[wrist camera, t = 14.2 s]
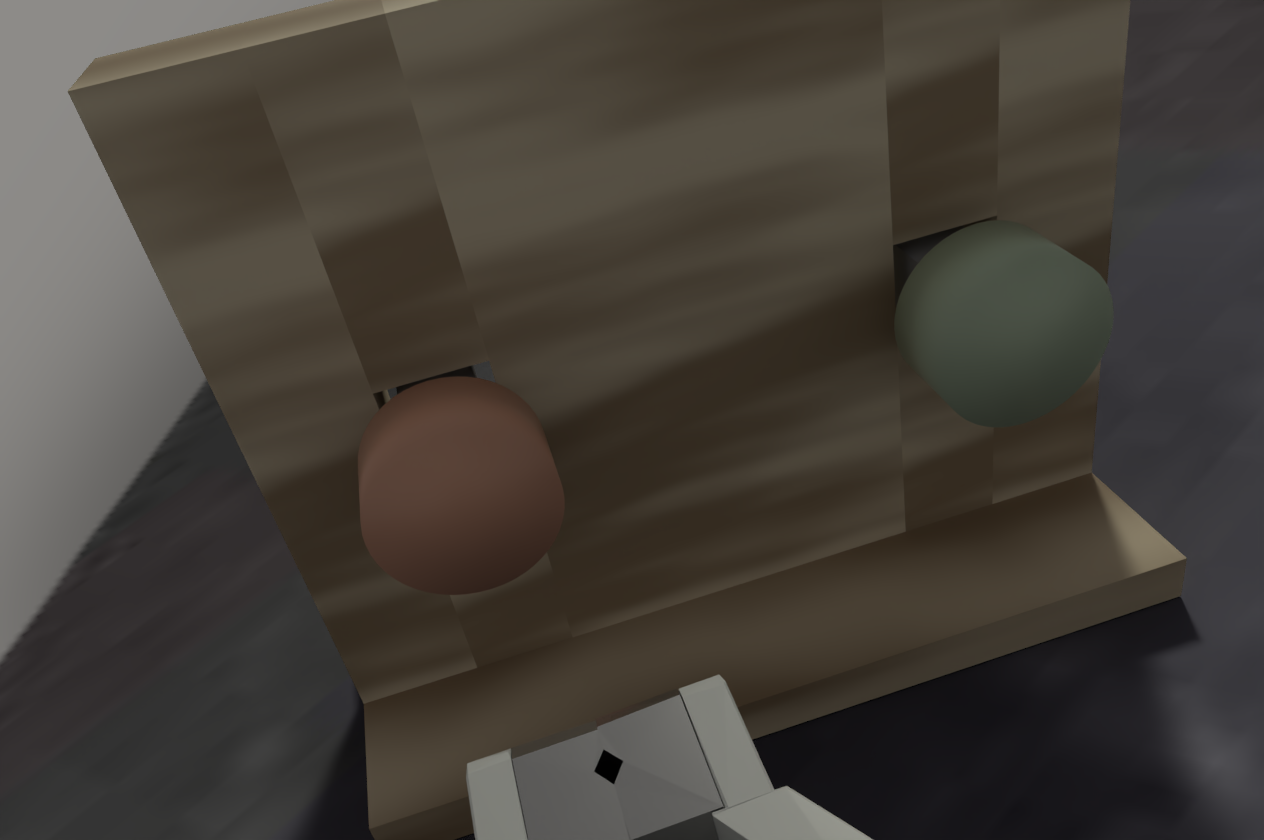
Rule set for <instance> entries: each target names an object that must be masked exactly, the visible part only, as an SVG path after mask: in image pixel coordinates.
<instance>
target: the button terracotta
mask: <svg viewBox="0 0 1264 840" xmlns="http://www.w3.org/2000/svg"><path fill="white" fill-rule="evenodd" d="M396 388H397V395H396V396H395V397H393V398H392V399H391V400H389V401H388V402H387V403H386V404H385V405H383V406H382V407H381V409H380V410H379V411H378V412H377V413H376V414H375V415H374V417H373V418H372V420H371V421H370V422H369V424H368V426H367V428H366V430H365V432H364V434H363V436H362V439H361V442H360V446H359V452H358V481H359V502H360V523H361V531H362V536H363V539H364V542H365V545H366V547H367V549H368V551H369V553H370V555H371V556H372V558H373V559H374V560H375V562H376V563H377V564H378V565H379V566H380V567H381V568H382V569H383V570H384V571H385V572H386V573H387V574H389V575H390V576H391V577H393V578H394V579H396V580H397V581H399V582H401V583H403V584H405V585H407V586H409V587H412V588H414V589H417V590H421V591H424V592H428V593H435V594H442V595H464V594H472V593H478V592H482V591H486V590H490V589H493V588H496V587H498V586H501V585H504V584H506V583H508V582H510V581H512V580H514V579H516V578H517V577H519V576H520V575H522V574H524V573H525V572H526V571H528V570H529V569H530V568H532V567H533V566H534V565H535V564H536V563H537V562H538V561H539V560H540V559H541V558H542V557H543V556H544V555H545V554H546V552H547V551H548V550H549V549H550V547H551V546H552V544H553V542H554V541H555V539H556V537H557V535H558V533H559V531H560V528H561V525H562V521H563V517H564V509H565V498H564V492H563V487H562V484H561V481H560V478H559V475H558V472H557V469H556V466H555V463H554V460H553V457H552V454H551V451H550V448H549V445H548V442H547V439H546V436H545V433H544V430H543V428H542V425H541V422H540V421H539V419H538V417H537V415H536V413H535V412H534V411H533V410H532V408H531V407H530V406H529V405H528V404H527V403H526V402H525V401H524V400H523V399H522V398H521V397H520V396H518V395H517V394H516V393H514V392H513V391H511V390H509V389H508V388H506V387H504V386H502V385H499V384H497V383H494V382H491V381H488V380H484V379H480V378H477V376H476V372H475V369H474V366H473V365H471V366H468V367H464V368H461V369H457V370H454V371H450V372H447V373H443V374H440V375H436V376H433V377H429V378H426V379H422V380H419V381H415V382H412V383H408V384H405V385H401V386H398V387H396Z"/></svg>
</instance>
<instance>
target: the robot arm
mask: <svg viewBox="0 0 1264 840" xmlns="http://www.w3.org/2000/svg"><path fill="white" fill-rule="evenodd" d="M466 782H467V788H468V795H469V801H470V808H471V815H472V821H473V828H474V834H475V840H873V839H871V838H870V837H868V836H867V835H865V834H863V833H862V832H860V831H859V830H857V829H855V828H854V827H852V826H851V825H849V824H847V823H846V822H844V821H843V820H841V819H839V818H838V817H836V816H835V815H833V814H831V813H830V812H828V811H827V810H825V809H823V808H822V807H820V806H819V805H817V804H815V803H814V802H812V801H811V800H809V799H807V798H806V797H804V796H803V795H801V794H799V793H798V792H796V791H795V790H793V789H791V788H790V787H788V786H785V787H781V788H778V789H775V790H774V788H773V786H772V783H771V781H770V779H769V777H768V775H767V772H766V770H765V768H764V766H763V763H762V761H761V759H760V757H759V755H758V752H757V750H756V748H755V746H754V744H753V741H752V739H751V737H750V735H749V732H748V730H747V728H746V726H745V724H744V721H743V719H742V717H741V715H740V712H739V710H738V708H737V706H736V704H735V701H734V699H733V697H732V695H731V692H730V690H729V688H728V686H727V684H726V681H725V680H724V679H723V678H722V677H721V676H720V675H716V676H713V677H710V678H708V679H705V680H702V681H699V682H696V683H694V684H691V685H688V686H685V687H682V688H679V690H678V691H677V689H674V690H671V691H669V692H666V693H663V694H661V695H658V696H655V697H653V698H650V699H647V700H645V701H642V702H639V703H636V704H634V705H631V706H628V707H626V708H623V709H620V710H618V711H615V712H612V713H610V714H607V715H604V716H601V717H599V718H596V719H595V721H592V722H589V723H586V724H583V725H580V726H577V727H574V728H571V729H568V730H565V731H562V732H559V733H556V734H553V735H550V736H547V737H543V738H540V739H537V740H534V741H531V742H528V743H525V744H522V745H519V746H516V747H513V748H511V749H508V750H505V751H502V752H499V753H496V754H493V755H490V756H487V757H484V758H481V759H478V760H476V761H473V762H470V763H467V771H466Z"/></svg>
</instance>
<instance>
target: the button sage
mask: <svg viewBox="0 0 1264 840" xmlns="http://www.w3.org/2000/svg"><path fill="white" fill-rule="evenodd" d="M893 260H894V282H895V304H896V312H895V318H894V331H895V339H896V343H897V346H898V349H899V351H900V353H901V355H902V357H903V358H904V360H905V361H906V363H907V364H908V365H909V366H910V367H911V368H912V369H913V370H914V371H915V372H916V373H917V374H918V375H919V376H920V377H921V378H922V379H923V380H924V381H925V382H926V383H927V384H928V385H929V386H930V387H931V388H932V389H933V390H934V391H935V392H936V393H937V394H938V395H939V396H940V397H941V398H942V399H943V400H944V401H945V402H946V403H947V404H948V405H949V406H950V407H951V408H952V409H953V410H954V411H955V412H956V413H957V414H958V415H960V416H961V417H962V418H964V419H965V420H967V421H969V422H972V423H974V424H977V425H981V426H985V427H1009V426H1015V425H1019V424H1023V423H1026V422H1029V421H1032V420H1035V419H1037V418H1039V417H1041V416H1043V415H1045V414H1047V413H1049V412H1050V411H1052V410H1054V409H1055V408H1057V407H1058V406H1059V405H1061V404H1062V403H1064V402H1065V401H1066V400H1067V399H1069V398H1070V397H1071V396H1072V395H1073V394H1074V393H1075V392H1076V391H1077V390H1078V389H1079V388H1080V387H1081V386H1082V385H1083V384H1084V383H1085V382H1086V380H1087V379H1088V378H1089V377H1090V375H1091V374H1092V373H1093V371H1094V370H1095V368H1096V366H1097V365H1098V363H1099V362H1100V360H1101V358H1102V356H1103V354H1104V352H1105V349H1106V347H1107V344H1108V342H1109V338H1110V335H1111V331H1112V325H1113V302H1112V297H1111V294H1110V290H1109V288H1108V286H1107V284H1106V282H1105V280H1104V279H1103V278H1102V276H1101V275H1100V274H1099V273H1098V272H1097V271H1096V270H1095V269H1094V268H1092V267H1091V266H1089V265H1088V264H1086V263H1085V262H1083V261H1081V260H1080V259H1078V258H1077V257H1075V256H1073V255H1072V254H1070V253H1069V252H1067V251H1066V250H1064V249H1062V248H1061V247H1059V246H1058V245H1056V244H1054V243H1053V242H1051V241H1050V240H1048V239H1047V238H1045V237H1043V236H1042V235H1040V234H1039V233H1037V232H1035V231H1034V230H1032V229H1031V228H1029V227H1027V226H1025V225H1022V224H1020V223H1017V222H1012V221H1004V220H994V221H986V222H981V223H976V224H974V225H971V226H968V227H964V226H958V227H955V228H951V229H948V230H944V231H941V232H937V233H934V234H930V235H927V236H923V237H920V238H916V239H913V240H909V241H906V242H902V243H899V244H895V245H893Z"/></svg>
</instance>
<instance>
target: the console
mask: <svg viewBox="0 0 1264 840" xmlns="http://www.w3.org/2000/svg"><path fill="white" fill-rule="evenodd" d="M1129 10H1130V0H334V1H330V2H326V3H322V4H318V5H314V6H310V7H305V8H301V9H297V10H293V11H289V12H285V13H281V14H277V15H273V16H269V17H265V18H260V19H256V20H252V21H248V22H244V23H240V24H235V25H232V26H228V27H223V28H219V29H215V30H211V31H207V32H203V33H198V34H194V35H191V36H186V37H182V38H178V39H174V40H170V41H166V42H162V43H157V44H153V45H149V46H145V47H141V48H137V49H133V50H129V51H125V52H120V53H116V54H112V55H108V56H104V57H100V58H96V59H94V61H93V62H92V63H91V64H90V65H89V67H88V68H87V69H86V70H85V71H84V72H83V74H82V75H81V76H80V77H79V78H78V80H77V81H76V82H75V83H74V84H73V86H72V87H71V88H70V89H69V90H68V93H69V95H70V97H71V99H72V101H73V103H74V105H75V107H76V109H77V112H78V114H79V116H80V118H81V120H82V122H83V124H84V126H85V128H86V130H87V132H88V134H89V136H90V138H91V140H92V143H93V145H94V147H95V149H96V151H97V153H98V155H99V157H100V159H101V161H102V163H103V165H104V167H105V170H106V172H107V173H108V176H109V177H110V180H111V182H112V184H113V186H114V188H115V190H116V192H117V194H118V196H119V199H120V200H121V203H122V205H123V207H124V209H125V211H126V213H127V215H128V217H129V219H130V221H131V223H132V225H133V227H134V230H135V231H136V234H137V236H138V237H139V240H140V242H141V244H142V246H143V248H144V250H145V252H146V254H147V256H148V258H149V260H150V263H151V265H152V267H153V269H154V271H155V273H156V275H157V277H158V279H159V281H160V283H161V285H162V287H163V290H164V291H165V294H166V296H167V298H168V300H169V302H170V304H171V306H172V308H173V310H174V312H175V314H176V316H177V318H178V320H179V323H180V325H181V327H182V329H183V331H184V333H185V335H186V337H187V339H188V341H189V343H190V345H191V347H192V350H193V351H194V354H195V356H196V358H197V360H198V362H199V364H200V366H201V368H202V370H203V372H204V374H205V376H206V378H207V381H208V383H209V385H210V387H211V389H212V391H213V393H214V395H215V397H216V399H217V401H218V403H219V405H220V407H221V409H222V412H223V414H224V416H225V418H226V420H227V422H228V424H229V426H230V428H231V430H232V432H233V434H234V436H235V438H236V440H237V443H238V445H239V447H240V449H241V451H242V453H243V455H244V457H245V459H246V461H247V463H248V465H249V467H250V469H251V472H252V474H253V476H254V478H255V480H256V482H257V484H258V486H259V488H260V490H261V492H262V494H263V496H264V498H265V500H266V503H267V505H268V507H269V509H270V511H271V513H272V515H273V517H274V519H275V521H276V523H277V525H278V527H279V529H280V531H281V534H282V536H283V538H284V540H285V542H286V544H287V546H288V548H289V550H290V552H291V554H292V556H293V558H294V560H295V563H296V565H297V567H298V569H299V571H300V573H301V575H302V577H303V579H304V581H305V583H306V585H307V587H308V589H309V591H310V594H311V596H312V598H313V600H314V602H315V604H316V606H317V608H318V610H319V612H320V614H321V616H322V618H323V620H324V622H325V625H326V627H327V629H328V631H329V633H330V635H331V637H332V639H333V641H334V643H335V645H336V647H337V649H338V651H339V653H340V656H341V658H342V660H343V662H344V664H345V666H346V668H347V670H348V672H349V674H350V676H351V678H352V680H353V682H354V685H355V687H356V689H357V691H358V693H359V695H360V697H361V699H362V701H363V703H364V719H365V744H366V768H367V792H368V816H369V830H370V832H371V834H372V836H373V838H374V839H375V840H455V839H458V838H461V837H464V836H466V835H469V834H472V833H474V828H473V821H472V815H471V808H470V801H469V795H468V788H467V782H466V771H467V763H470V762H473V761H476V760H478V759H481V758H484V757H487V756H490V755H493V754H496V753H499V752H502V751H505V750H508V749H511V748H513V747H516V746H519V745H522V744H525V743H528V742H531V741H534V740H537V739H540V738H543V737H547V736H550V735H553V734H556V733H559V732H562V731H565V730H568V729H571V728H574V727H577V726H580V725H583V724H586V723H589V722H592V721H595V719H596V718H599V717H601V716H604V715H607V714H610V713H612V712H615V711H618V710H620V709H623V708H626V707H628V706H631V705H634V704H636V703H639V702H642V701H645V700H647V699H650V698H653V697H655V696H658V695H661V694H663V693H666V692H669V691H671V690H674V689H677V691H678V690H679V688H682V687H685V686H688V685H691V684H694V683H696V682H699V681H702V680H705V679H708V678H710V677H713V676H716V675H720V676H721V677H722V678H723V679H724V680H725V681H726V684H727V686H728V688H729V690H730V692H731V695H732V697H733V699H734V701H735V704H736V706H737V708H738V710H739V712H740V715H741V717H742V719H743V721H744V724H745V726H746V728H747V730H748V732H749V735H750V737H751V739H752V740H753V739H756V738H759V737H762V736H765V735H768V734H771V733H774V732H777V731H780V730H783V729H786V728H789V727H792V726H794V725H797V724H800V723H803V722H806V721H809V720H812V719H815V718H818V717H821V716H824V715H827V714H830V713H833V712H836V711H839V710H842V709H845V708H848V707H851V706H854V705H857V704H860V703H863V702H866V701H869V700H872V699H875V698H878V697H881V696H884V695H887V694H890V693H893V692H896V691H899V690H902V689H905V688H908V687H911V686H914V685H917V684H920V683H923V682H926V681H929V680H932V679H935V678H938V677H941V676H944V675H947V674H950V673H953V672H956V671H958V670H961V669H964V668H967V667H970V666H973V665H976V664H979V663H982V662H985V661H988V660H991V659H994V658H997V657H1000V656H1003V655H1006V654H1009V653H1012V652H1015V651H1018V650H1021V649H1024V648H1027V647H1030V646H1033V645H1036V644H1039V643H1042V642H1045V641H1048V640H1051V639H1054V638H1057V637H1060V636H1063V635H1066V634H1069V633H1072V632H1075V631H1078V630H1081V629H1084V628H1087V627H1090V626H1093V625H1096V624H1099V623H1102V622H1105V621H1108V620H1111V619H1114V618H1117V617H1120V616H1123V615H1125V614H1128V613H1131V612H1134V611H1137V610H1140V609H1143V608H1146V607H1149V606H1152V605H1155V604H1158V603H1161V602H1164V601H1167V600H1170V599H1173V598H1176V597H1179V596H1181V592H1182V586H1183V579H1184V573H1185V566H1186V560H1187V558H1186V557H1185V556H1184V555H1183V554H1181V553H1180V552H1179V551H1178V550H1177V549H1176V548H1175V547H1174V546H1173V545H1171V544H1170V543H1169V542H1168V541H1167V540H1166V539H1165V538H1164V537H1163V536H1161V535H1160V534H1159V533H1158V532H1157V531H1156V530H1155V529H1154V528H1153V527H1151V526H1150V525H1149V524H1148V523H1147V522H1146V521H1145V520H1144V519H1143V518H1141V517H1140V516H1139V515H1138V514H1137V513H1136V512H1135V511H1134V510H1133V509H1131V508H1130V507H1129V506H1128V505H1127V504H1126V503H1125V502H1124V501H1123V500H1121V499H1120V498H1119V497H1118V496H1117V495H1116V494H1115V493H1114V492H1113V491H1111V490H1110V489H1109V488H1108V487H1107V486H1106V485H1105V484H1104V483H1103V482H1101V481H1100V480H1099V479H1098V478H1097V477H1096V476H1095V475H1094V474H1093V473H1092V461H1093V448H1094V436H1095V424H1096V412H1097V400H1098V388H1099V375H1100V363H1101V360H1100V362H1099V363H1098V365H1097V366H1096V368H1095V370H1094V371H1093V373H1092V374H1091V375H1090V377H1089V378H1088V379H1087V380H1086V382H1085V383H1084V384H1083V385H1082V386H1081V387H1080V388H1079V389H1078V390H1077V391H1076V392H1075V393H1074V394H1073V395H1072V396H1071V397H1070V398H1069V399H1067V400H1066V401H1065V402H1064V403H1062V404H1061V405H1059V406H1058V407H1057V408H1055V409H1054V410H1052V411H1050V412H1049V413H1047V414H1045V415H1043V416H1041V417H1039V418H1037V419H1035V420H1032V421H1029V422H1026V423H1023V424H1019V425H1015V426H1009V427H985V426H981V425H977V424H974V423H972V422H969V421H967V420H965V419H964V418H962V417H961V416H960V415H958V414H957V413H956V412H955V411H954V410H953V409H952V408H951V407H950V406H949V405H948V404H947V403H946V402H945V401H944V400H943V399H942V398H941V397H940V396H939V395H938V394H937V393H936V392H935V391H934V390H933V389H932V388H931V387H930V386H929V385H928V384H927V383H926V382H925V381H924V380H923V379H922V378H921V377H920V376H919V375H918V374H917V373H916V372H915V371H914V370H913V369H912V368H911V367H910V366H909V365H908V364H907V363H906V361H905V360H904V358H903V357H902V355H901V353H900V351H899V349H898V346H897V343H896V339H895V331H894V318H895V312H896V304H895V282H894V260H893V245H895V244H899V243H902V242H906V241H909V240H913V239H916V238H920V237H923V236H927V235H930V234H934V233H937V232H941V231H944V230H948V229H951V228H955V227H958V226H964V227H968V226H971V225H974V224H976V223H981V222H986V221H994V220H1004V221H1012V222H1017V223H1020V224H1022V225H1025V226H1027V227H1029V228H1031V229H1032V230H1034V231H1035V232H1037V233H1039V234H1040V235H1042V236H1043V237H1045V238H1047V239H1048V240H1050V241H1051V242H1053V243H1054V244H1056V245H1058V246H1059V247H1061V248H1062V249H1064V250H1066V251H1067V252H1069V253H1070V254H1072V255H1073V256H1075V257H1077V258H1078V259H1080V260H1081V261H1083V262H1085V263H1086V264H1088V265H1089V266H1091V267H1092V268H1094V269H1095V270H1096V271H1097V272H1098V273H1099V274H1100V275H1101V276H1102V278H1103V279H1104V280H1105V282H1106V284H1107V278H1108V266H1109V253H1110V241H1111V229H1112V217H1113V205H1114V193H1115V180H1116V168H1117V156H1118V144H1119V132H1120V119H1121V107H1122V95H1123V83H1124V71H1125V58H1126V46H1127V34H1128V22H1129ZM485 361H490V365H491V368H492V371H493V375H494V378H495V381H496V383H497V384H499V385H502V386H504V387H506V388H508V389H509V390H511V391H513V392H514V393H516V394H517V395H518V396H520V397H521V398H522V399H523V400H524V401H525V402H526V403H527V404H528V405H529V406H530V407H531V408H532V410H533V411H534V412H535V413H536V415H537V417H538V419H539V421H540V422H541V425H542V428H543V430H544V433H545V436H546V439H547V442H548V445H549V448H550V451H551V454H552V457H553V460H554V463H555V466H556V469H557V472H558V475H559V478H560V481H561V484H562V487H563V492H564V498H565V509H564V517H563V521H562V525H561V528H560V531H559V533H558V535H557V537H556V539H555V541H554V542H553V544H552V546H551V547H550V549H549V550H548V551H547V552H546V554H545V555H544V556H543V557H542V558H541V559H540V560H539V561H538V562H537V563H536V564H535V565H534V566H533V567H532V568H530V569H529V570H528V571H526V572H525V573H524V574H522V575H520V576H519V577H517V578H516V579H514V580H512V581H510V582H508V583H506V584H504V585H501V586H498V587H496V588H493V589H490V590H486V591H482V592H478V593H472V594H464V595H442V594H435V593H428V592H424V591H421V590H417V589H414V588H412V587H409V586H407V585H405V584H403V583H401V582H399V581H397V580H396V579H394V578H393V577H391V576H390V575H389V574H387V573H386V572H385V571H384V570H383V569H382V568H381V567H380V566H379V565H378V564H377V563H376V562H375V560H374V559H373V558H372V556H371V555H370V553H369V551H368V549H367V547H366V545H365V542H364V539H363V536H362V531H361V523H360V502H359V481H358V452H359V446H360V442H361V439H362V436H363V434H364V432H365V430H366V428H367V426H368V424H369V422H370V421H371V420H372V418H373V417H374V415H375V414H376V413H377V412H378V411H379V410H380V409H381V407H382V406H383V405H385V404H386V403H387V402H388V401H389V400H391V399H390V396H389V394H388V391H387V389H391V388H394V387H398V386H401V385H405V384H408V383H412V382H415V381H419V380H422V379H426V378H429V377H433V376H436V375H440V374H443V373H447V372H450V371H454V370H457V369H461V368H464V367H468V366H471V365H475V364H478V363H482V362H485Z"/></svg>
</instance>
